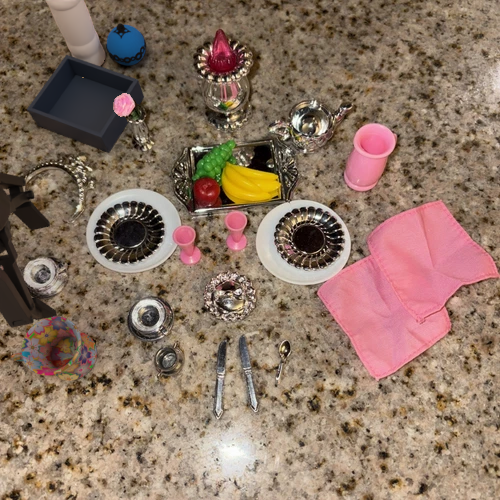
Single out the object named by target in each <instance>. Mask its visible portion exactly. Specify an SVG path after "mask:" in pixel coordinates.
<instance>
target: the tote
mask: <svg viewBox="0 0 500 500" xmlns="http://www.w3.org/2000/svg"><path fill="white" fill-rule="evenodd" d="M82 77H84V78H82ZM122 93H127V94H130V95H131V97H132V98H133V99H134V100H135V101H136V103H137V104H139V106H140V105H141V103H142V102H143V100H144V98H145V96H144V93H143V90H142V85H141V83H140V80H139V79H137V78H134V77H132V76H130V75H126V74H124V73H120V72H117V71H115V70H112V69H109V68H106V67H103V66H98V65H95V64H92V63H89V62H86V61H83V60H80V59H77V58H75V57H72V55H69V54H66V55H65V56H64V57H63V59H61V62H60V63H59V64H58V66H57V67H56V69H54V71H53V72H52V74H51V75H50V76H49V78H48V80H47V81H46V82H45V84H44V85H43V87H42V88H41V89H40V90H39V92H38V93H37V95H36V96H35V98H34V99H33V100H32V101H31V103H30V104H29V106H28V107H27V108H26V111H27V112H28V115H30V117H31V118H32V119H33V121H34V122H35V124H36V125H37V126H38V127H39V126H40V128H42V127H43V128H42V129H45V130H47V129H48V131H50V132H52V133H55V134H58V135H60V136H64V137H66V138H68V139H72V140H74V141H76V142H79V143H81V144H83V145H84V144H85V145H87V146H89V147H93V148H95V149H98V150H100V151H103V152H106V153H108V154H110V152H111V151H112V150H113V147H115V144H116V143H117V142H118V139H119V138H120V137H121V135H122V133H123V132H124V130H125V128H126V127H127V125H128V124H129V122H127V120H126V118H125V117H120V116H118V115H117V114H116V113H115V112H114V110H113V102H114V99H115V98H116V97H117V96H119V95H121V94H122Z"/></svg>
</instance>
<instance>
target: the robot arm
mask: <svg viewBox="0 0 500 500" xmlns="http://www.w3.org/2000/svg"><path fill="white" fill-rule="evenodd" d="M26 180H27V179H26V178H25V177H24V176H19V175H14V174H9V173H5V172H1V171H0V314H1V315H2V318H3V319H4V320H5V321H6V323H7V324H8V326H9V328H10V329H11V328H12V329H13V328H14V329H15V328H19V327H23V326H28V325H31V324H32V325H33V324H34V320H35V321H40V320H42V319H45V318H49V317H55V316H56V317H58V315H57V309H55V308H53V307H52V306H50V305H49V304H47V303H46V302H45V301H43V300H42V299H40V298H39V297H37V296H32V295H31V292H30V290H29V287H28V285H27V284H26V281H25V279H24V276H23V274H22V272H21V270H20V268H19V265H18V263H17V259H18V257H19V255H18V251H17V250H16V247H15V244H14V243H13V240H12V236H13V235H12V233H11V221H10V220H9V218H10V216H11V215H12V214H14V215H15V217H17V219H19V220H20V221H21V222H22V223H23V224H24V225H25V226H26V227H27V228H28V229H29V230H30V231H36V230H39V229H46V228H50V227H51V222H50V220H49V219H48V218H46V216H45V215H44V214H43V213H42V212H41V211H40V210H39V208H37V206H36V205H35V204H34V202H32V201H31V200H34V199H35V193H34V190H33V189H29V190H24V187H26V186H27V181H26ZM6 190H8V192H9V194H8V193H7V192H6ZM4 252H6V253H7V254H3V255H1V254H2V253H4Z"/></svg>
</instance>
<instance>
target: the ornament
mask: <svg viewBox="0 0 500 500" xmlns="http://www.w3.org/2000/svg"><path fill="white" fill-rule="evenodd" d="M105 48H106V52H107V53H108V56H109V58H110V59H111V60H112V61H113V62H116V63H118V64H119V65H121V66H127V67H128V66H129V67H130V66H134V65H136V64H138V63H140V61H142V60H143V58H144V56H145V54H146V48H147V42H146V38H145V36H144V35H143V33H142V32H141V31H140V30H139V29H138V28H137V27H134V26H133V25H130V24H123V23H121V22H119V23H118V24H116V26H115V27H113V28H112V29H111V31H109V33H108V35H107V38H106V44H105Z"/></svg>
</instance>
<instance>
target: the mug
mask: <svg viewBox="0 0 500 500" xmlns="http://www.w3.org/2000/svg"><path fill="white" fill-rule="evenodd" d="M97 357H98V349H97V346H96V343H95V341H94V340H93V338H92V337H91V336H90V335H89V334H86V333H84V332H82V331H80V330H79V328H78V327H77V326H76V324H75V323H74V322H73V321H71V320H70V319H69V318H66V317H63V316H53V317H49V318H44V319H39V320H38V321H37V322H35V323H33V324H32V326H31V327H30V328H29V329H28V330H27V332H26V334H25V336H24V338H23V340H22V344H21V351H20V352H19V351H18V352H15V353H13V354H12V355H10V359H11V361H14V362H24V364H25V366H26V367H27V368H28V369H29V371H31V372H33V373H35V374H37V375H39V376H46V377H47V376H49V377H50V376H55V377H57V379H60V380H62V381H68V382H69V381H75V380H76V381H77V380H79V379H81V378H83V377H85V376H86V375H87V374H88V373H90V371H91V370H92V369H93V367H94V366H95V364H96V361H97Z"/></svg>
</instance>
